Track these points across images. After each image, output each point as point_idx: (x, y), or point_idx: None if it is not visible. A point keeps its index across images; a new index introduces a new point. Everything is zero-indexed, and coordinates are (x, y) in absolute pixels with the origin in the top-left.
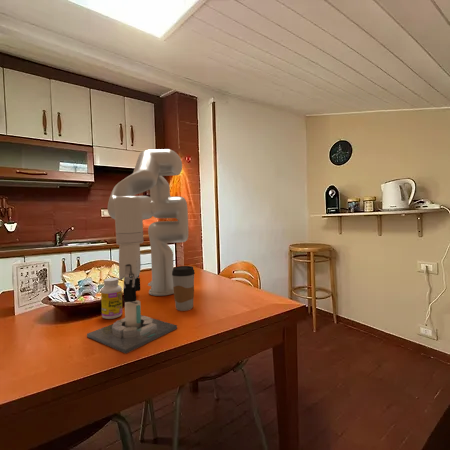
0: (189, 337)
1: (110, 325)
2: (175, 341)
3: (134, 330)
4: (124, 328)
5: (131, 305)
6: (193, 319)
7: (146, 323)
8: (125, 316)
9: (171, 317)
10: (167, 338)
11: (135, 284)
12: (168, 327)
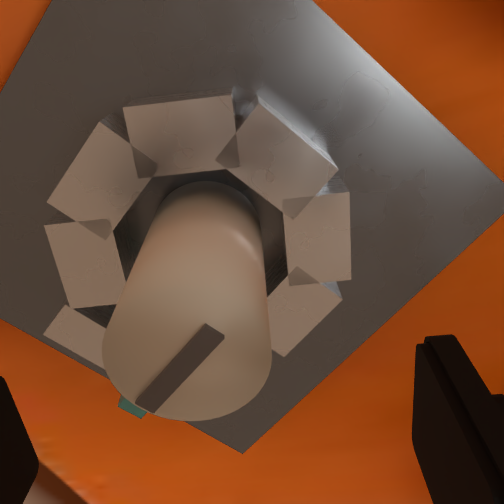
0: (130, 491)
1: (312, 20)
2: (85, 446)
3: (67, 293)
4: (88, 222)
5: (107, 361)
6: (361, 494)
7: None
8: (155, 237)
9: None
10: (119, 411)
11: (446, 481)
12: (216, 420)
